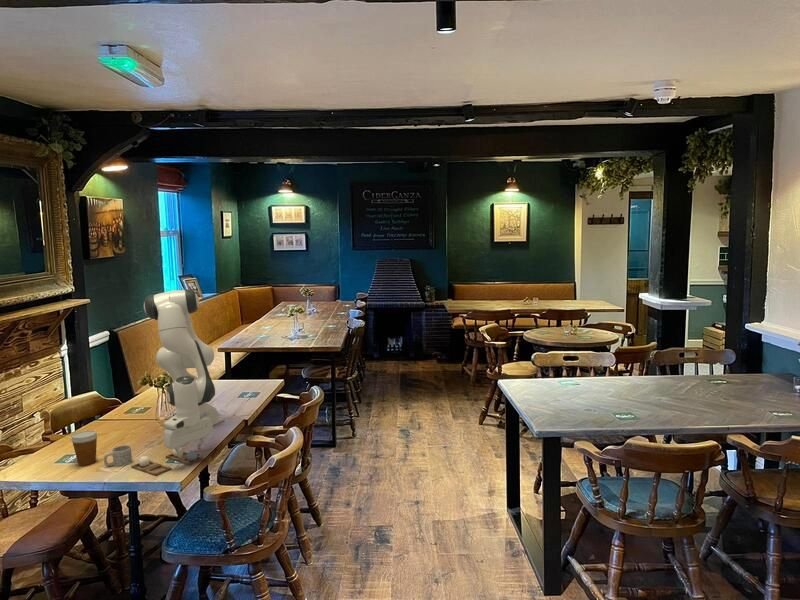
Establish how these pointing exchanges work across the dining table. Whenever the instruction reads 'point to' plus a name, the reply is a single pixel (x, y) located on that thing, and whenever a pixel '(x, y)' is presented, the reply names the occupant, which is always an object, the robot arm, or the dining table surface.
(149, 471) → the tray
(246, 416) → the dining table surface
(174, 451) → the ivory ball
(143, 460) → the ivory ball
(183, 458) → the rack
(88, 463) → the disposable coffee cup
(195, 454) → the ball blue
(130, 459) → the mug
